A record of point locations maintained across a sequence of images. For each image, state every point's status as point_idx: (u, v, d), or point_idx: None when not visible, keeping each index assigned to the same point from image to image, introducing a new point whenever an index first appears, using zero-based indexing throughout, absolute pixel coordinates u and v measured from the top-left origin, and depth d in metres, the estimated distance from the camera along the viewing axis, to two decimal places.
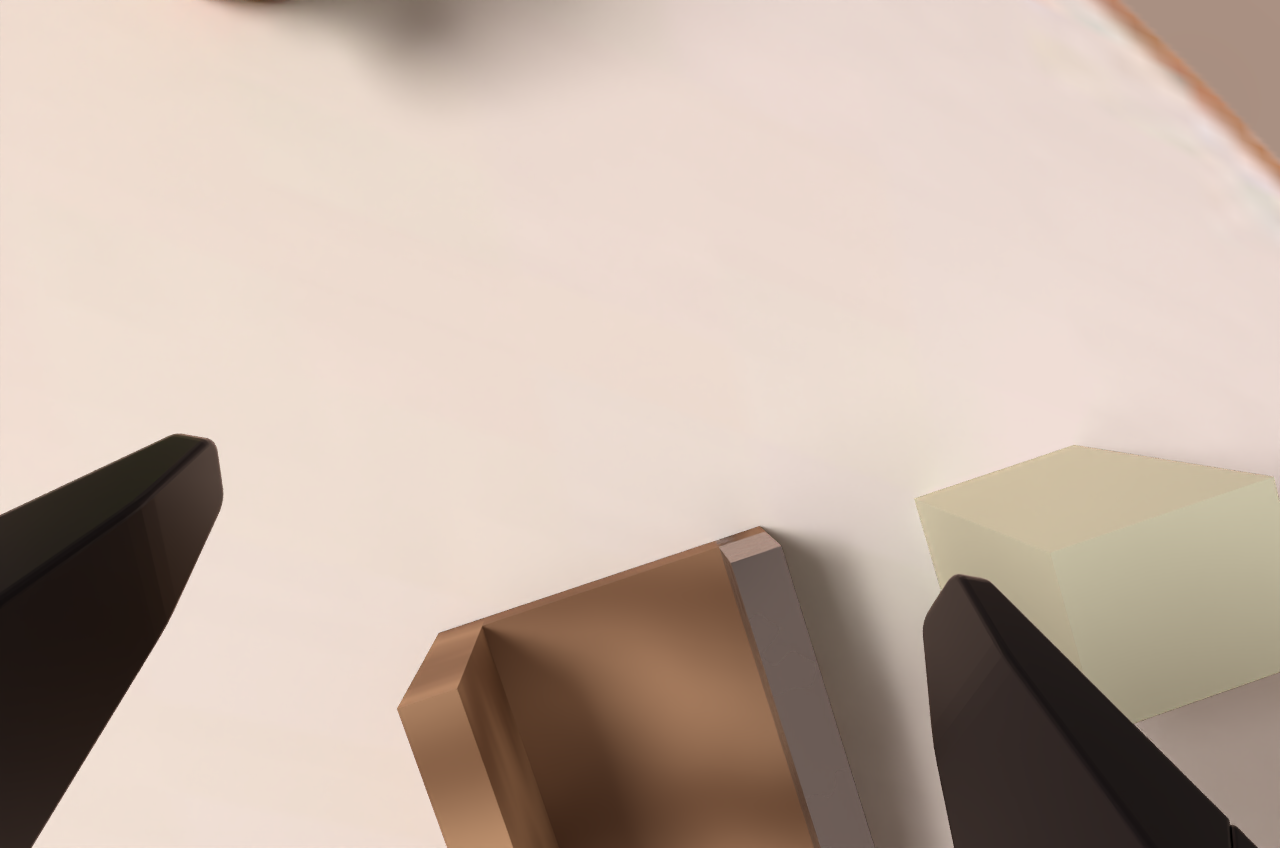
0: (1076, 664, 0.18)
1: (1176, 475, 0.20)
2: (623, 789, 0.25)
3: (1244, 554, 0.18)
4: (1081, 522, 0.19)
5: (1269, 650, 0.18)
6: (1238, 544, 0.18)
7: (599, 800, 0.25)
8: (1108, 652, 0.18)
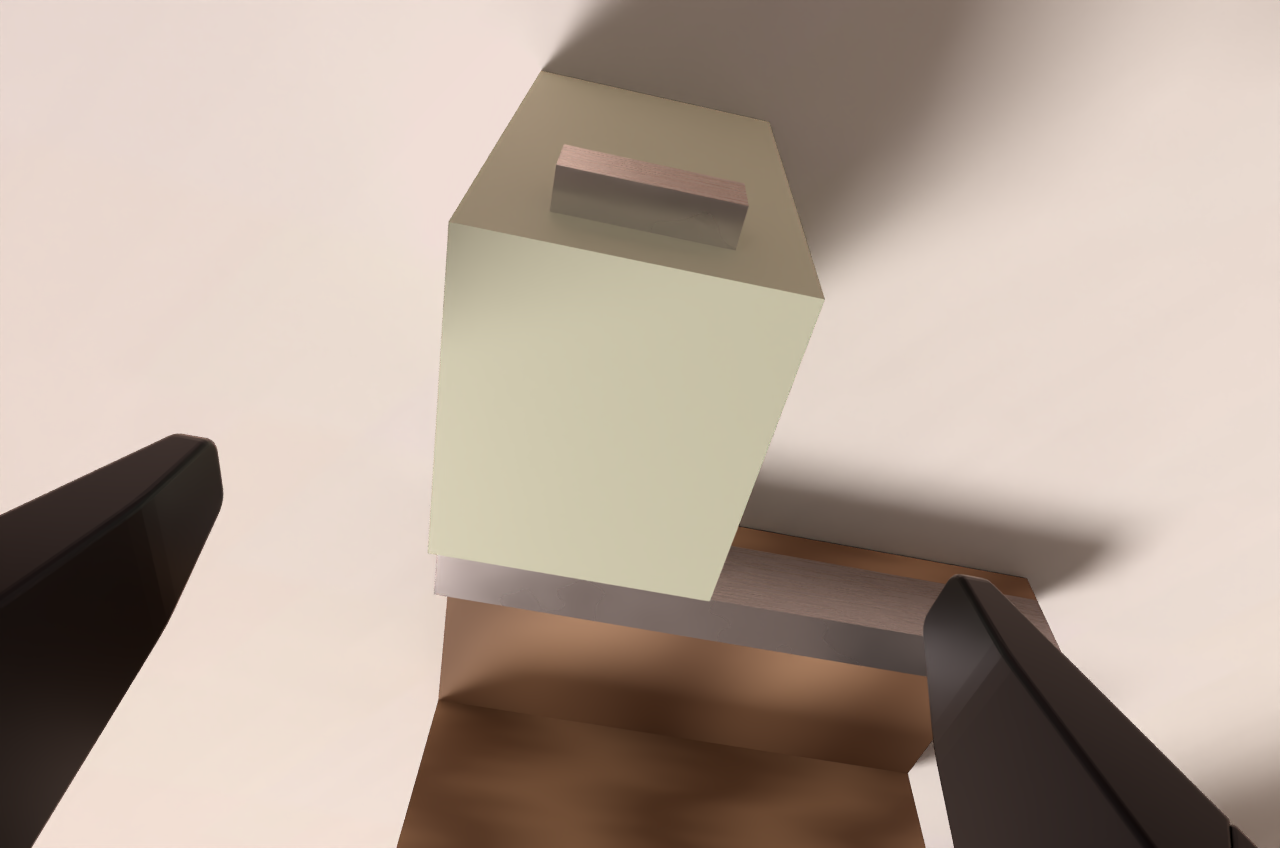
0: None
1: None
2: (642, 685, 0.25)
3: (565, 331, 0.10)
4: None
5: (750, 368, 0.10)
6: (543, 331, 0.10)
7: (640, 701, 0.25)
8: (605, 552, 0.12)
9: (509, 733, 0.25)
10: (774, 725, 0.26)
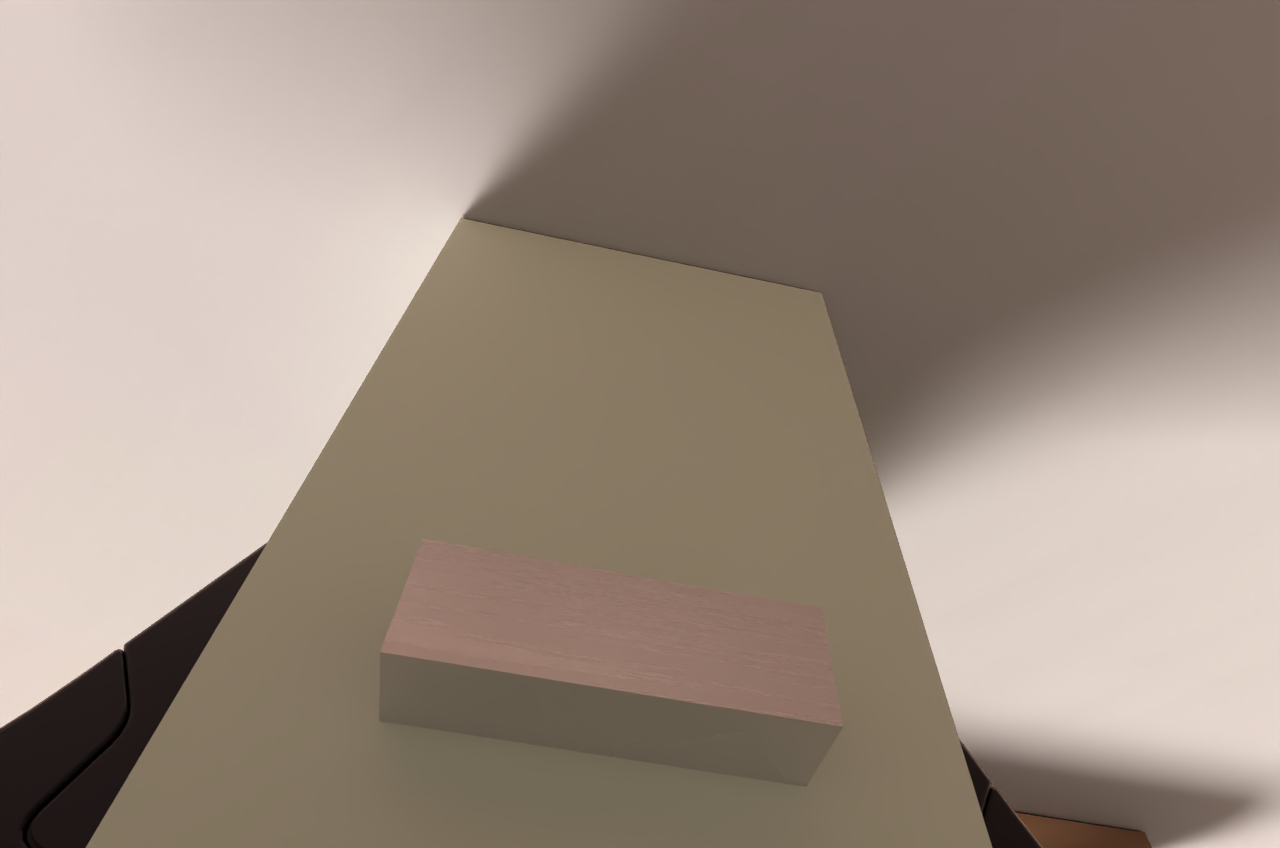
0: None
1: None
2: None
3: None
4: None
5: None
6: None
7: None
8: None
9: None
10: None
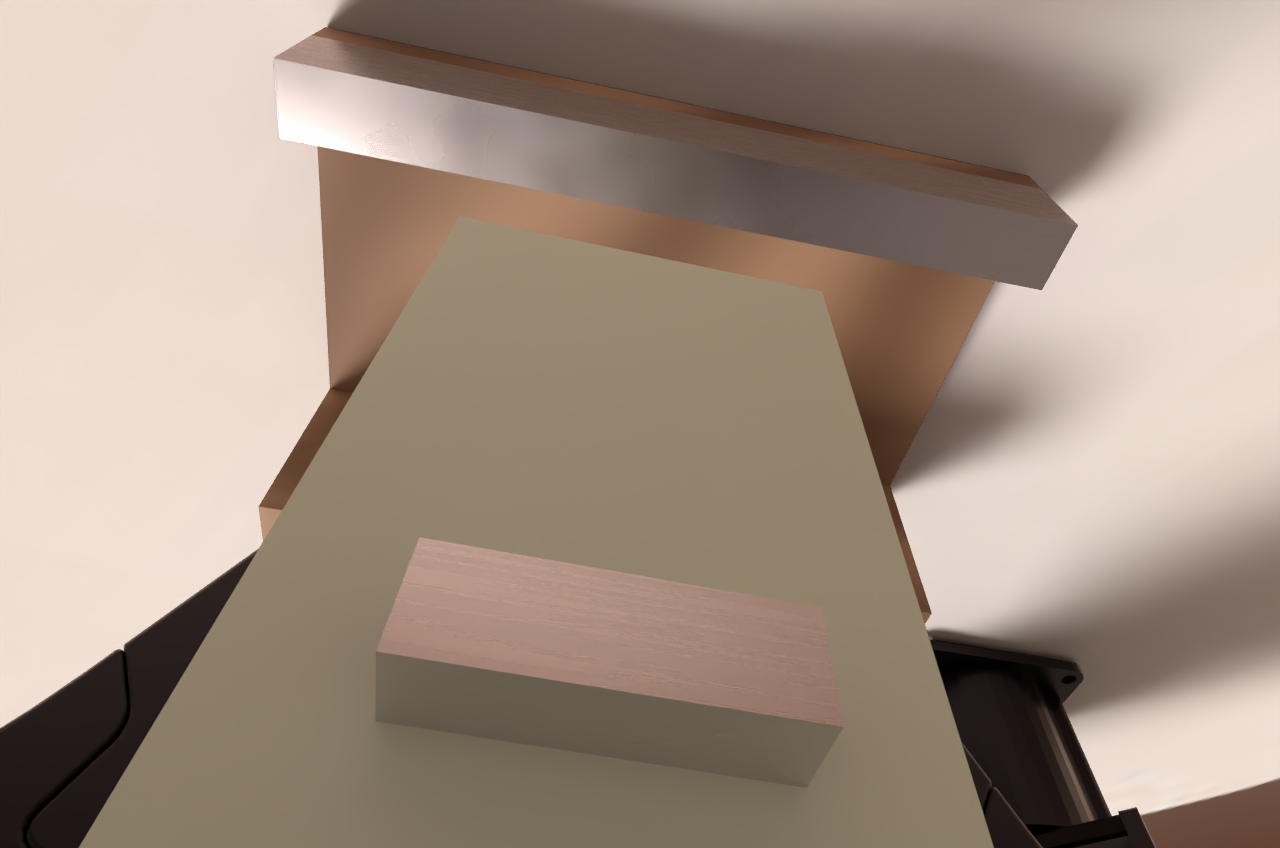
0: None
1: None
2: None
3: None
4: None
5: None
6: None
7: None
8: None
9: None
10: None
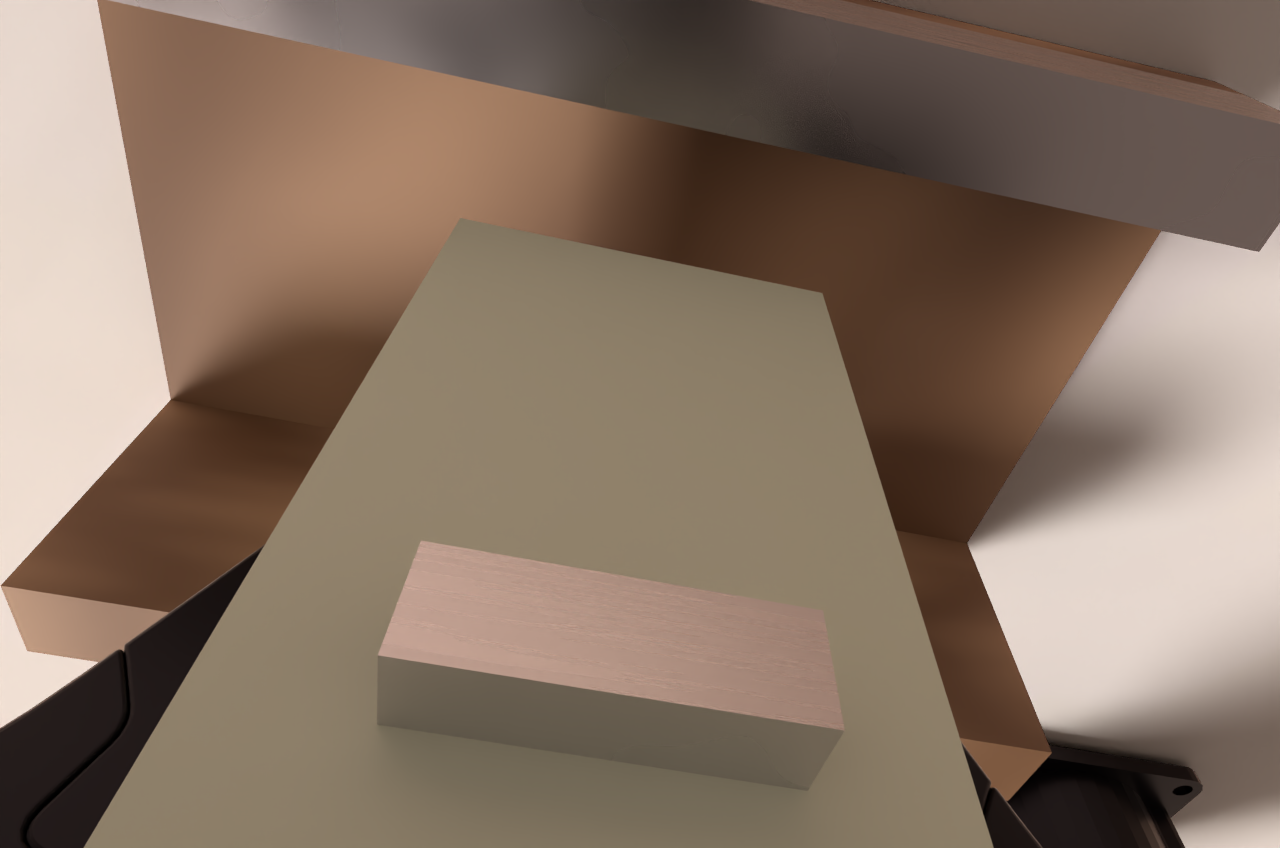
0: None
1: None
2: None
3: None
4: None
5: None
6: None
7: None
8: None
9: (285, 448, 0.15)
10: None
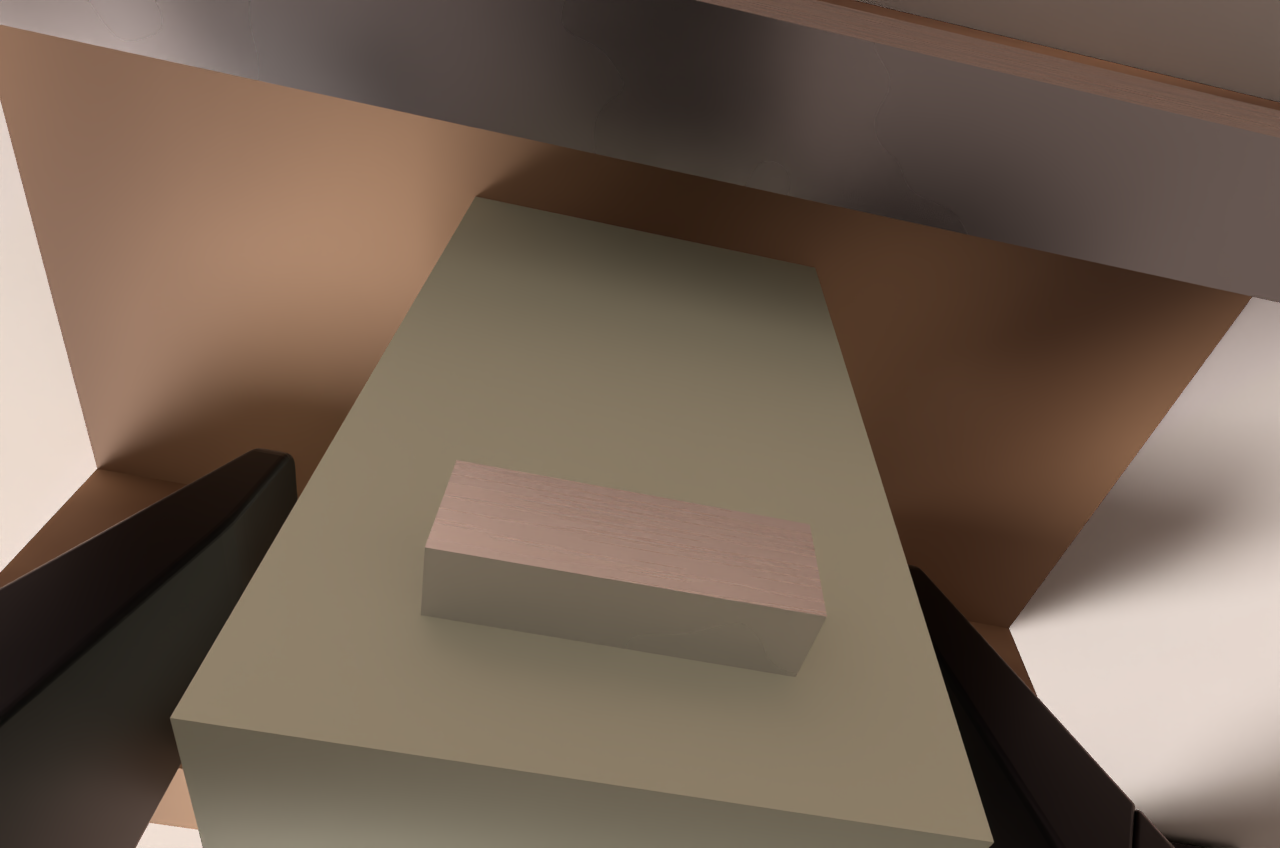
0: None
1: None
2: None
3: None
4: None
5: None
6: None
7: None
8: None
9: None
10: None
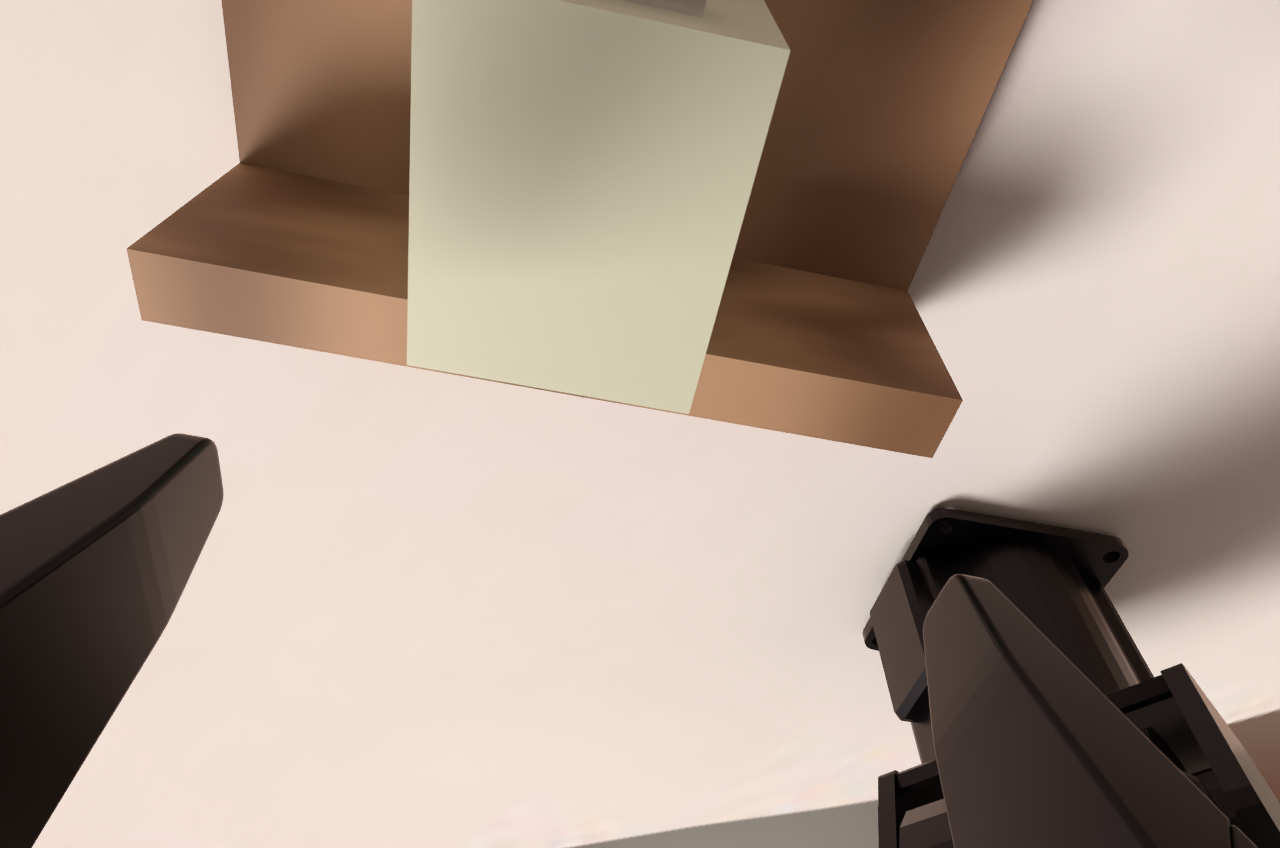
0: None
1: None
2: None
3: (533, 96, 0.10)
4: None
5: (719, 134, 0.10)
6: (511, 97, 0.10)
7: None
8: (583, 358, 0.12)
9: (337, 196, 0.18)
10: None
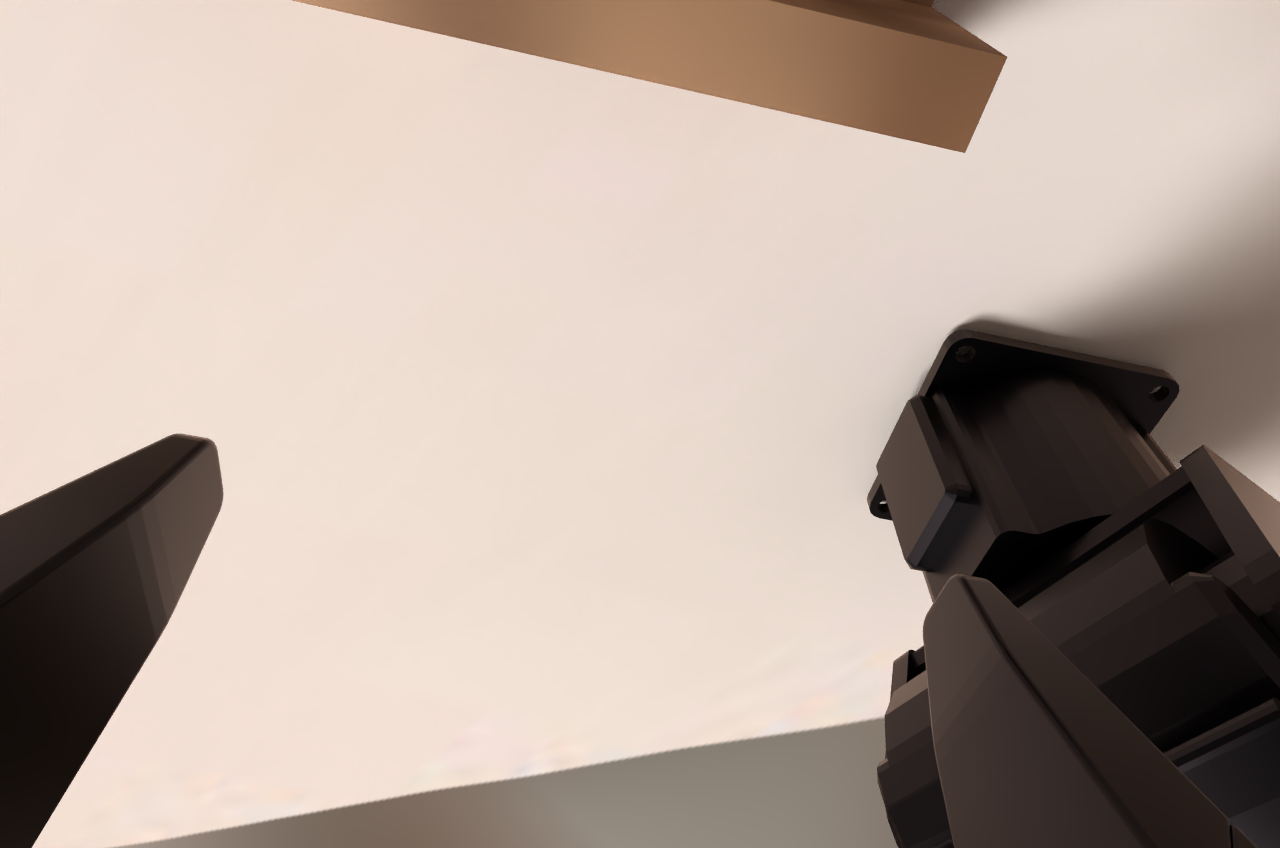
0: None
1: None
2: None
3: None
4: None
5: None
6: None
7: None
8: None
9: None
10: None
